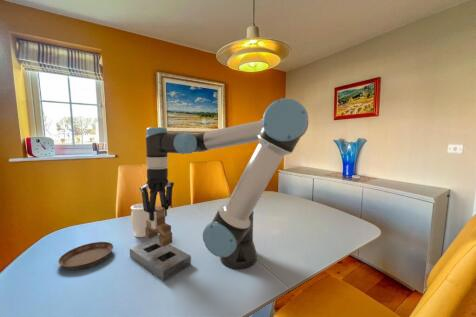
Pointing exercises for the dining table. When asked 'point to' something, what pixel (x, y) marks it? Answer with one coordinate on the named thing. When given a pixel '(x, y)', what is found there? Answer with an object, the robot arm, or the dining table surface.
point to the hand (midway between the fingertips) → (158, 226)
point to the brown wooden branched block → (160, 228)
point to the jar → (139, 220)
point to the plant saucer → (85, 255)
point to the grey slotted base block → (160, 258)
